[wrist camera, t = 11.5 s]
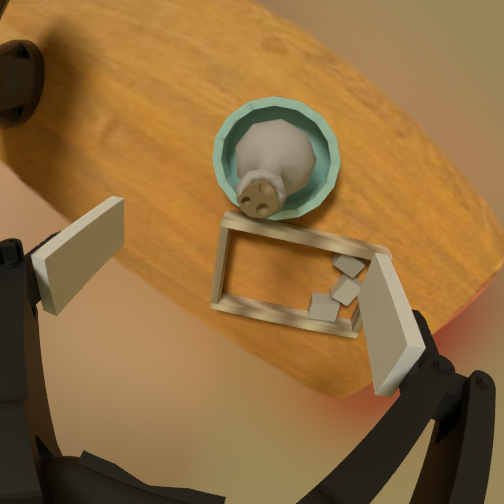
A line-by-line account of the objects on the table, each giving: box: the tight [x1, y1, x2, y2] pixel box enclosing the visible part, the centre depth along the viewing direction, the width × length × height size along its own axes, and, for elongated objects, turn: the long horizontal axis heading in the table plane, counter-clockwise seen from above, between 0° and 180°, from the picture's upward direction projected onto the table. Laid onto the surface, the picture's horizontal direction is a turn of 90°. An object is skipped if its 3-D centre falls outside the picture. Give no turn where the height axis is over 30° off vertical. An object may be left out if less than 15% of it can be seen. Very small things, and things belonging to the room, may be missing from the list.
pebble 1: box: [332, 252, 365, 278], centre depth 42 cm, size 4×2×2 cm
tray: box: [210, 210, 393, 338], centre depth 43 cm, size 22×14×3 cm, turn 80°
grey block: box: [308, 292, 340, 322], centre depth 45 cm, size 4×3×2 cm
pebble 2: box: [331, 273, 362, 306], centre depth 44 cm, size 4×3×2 cm
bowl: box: [212, 96, 340, 220], centre depth 36 cm, size 14×14×4 cm
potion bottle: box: [236, 119, 317, 219], centre depth 29 cm, size 9×9×18 cm
